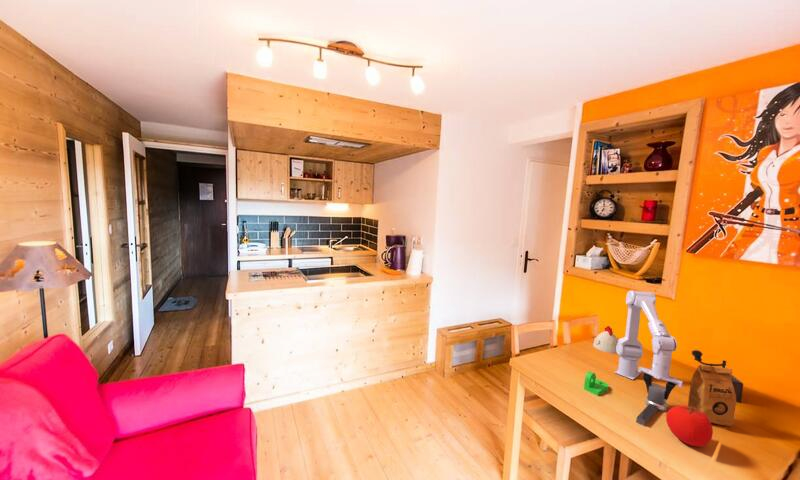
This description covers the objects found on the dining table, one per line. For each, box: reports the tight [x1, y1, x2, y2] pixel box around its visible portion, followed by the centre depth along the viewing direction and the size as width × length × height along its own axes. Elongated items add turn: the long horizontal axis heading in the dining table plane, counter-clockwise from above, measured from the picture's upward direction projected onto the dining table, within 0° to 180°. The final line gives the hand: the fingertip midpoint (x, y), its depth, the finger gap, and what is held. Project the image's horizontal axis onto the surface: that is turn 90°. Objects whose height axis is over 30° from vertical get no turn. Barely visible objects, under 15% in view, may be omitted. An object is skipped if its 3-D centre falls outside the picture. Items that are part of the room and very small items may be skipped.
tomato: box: [665, 404, 714, 448], centre depth 114 cm, size 12×12×13 cm
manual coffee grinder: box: [691, 349, 744, 404], centre depth 147 cm, size 16×11×18 cm
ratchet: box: [635, 396, 668, 426], centre depth 130 cm, size 24×7×5 cm, turn 128°
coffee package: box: [687, 364, 737, 427], centre depth 127 cm, size 10×12×22 cm
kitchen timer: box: [592, 325, 619, 355], centre depth 190 cm, size 14×14×15 cm
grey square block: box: [647, 381, 667, 406], centre depth 135 cm, size 5×5×6 cm
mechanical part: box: [583, 370, 609, 397], centre depth 147 cm, size 12×6×8 cm, turn 124°
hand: (657, 395), depth 135 cm, fingers closed on grey square block, 5 cm apart
